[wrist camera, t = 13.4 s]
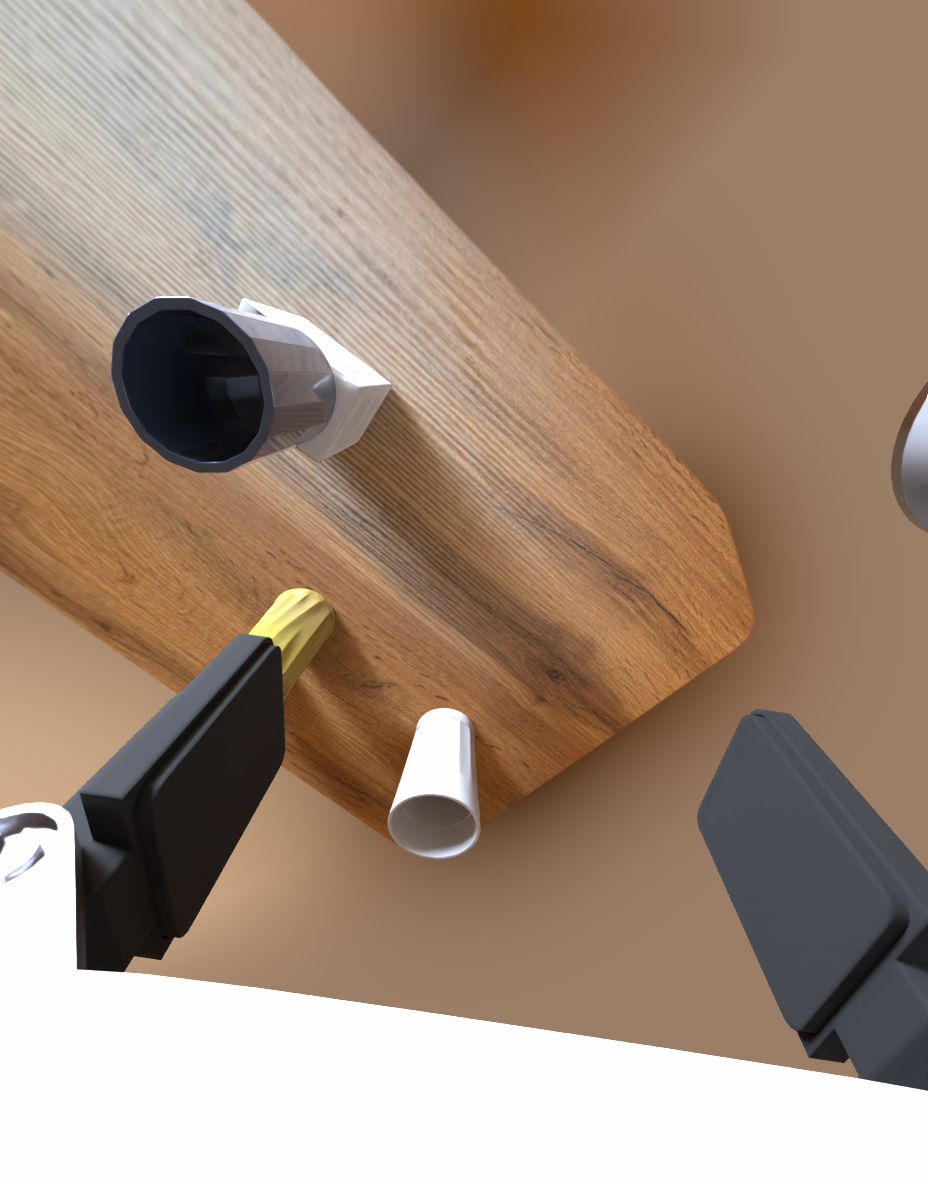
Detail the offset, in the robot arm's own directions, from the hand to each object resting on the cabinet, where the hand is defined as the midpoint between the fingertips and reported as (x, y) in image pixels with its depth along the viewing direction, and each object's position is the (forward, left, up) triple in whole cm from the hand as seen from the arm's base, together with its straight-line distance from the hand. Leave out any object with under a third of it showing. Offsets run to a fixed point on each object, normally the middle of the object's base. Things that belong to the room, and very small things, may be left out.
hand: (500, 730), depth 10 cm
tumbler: (+9, -11, -22) cm, 26 cm away
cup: (+15, +24, -33) cm, 44 cm away
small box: (+9, -11, -33) cm, 36 cm away
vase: (+22, +6, -33) cm, 40 cm away
